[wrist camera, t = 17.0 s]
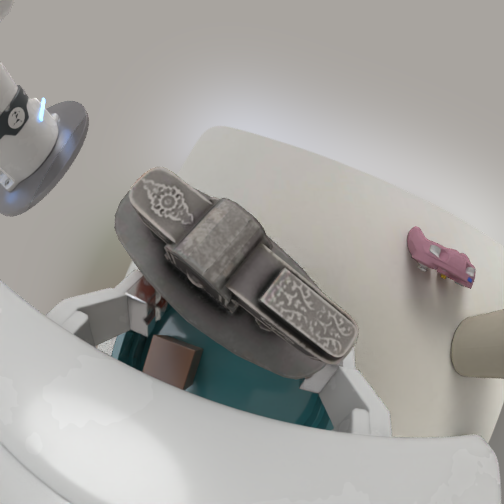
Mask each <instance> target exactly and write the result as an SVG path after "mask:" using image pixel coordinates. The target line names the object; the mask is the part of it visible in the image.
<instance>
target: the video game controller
mask: <svg viewBox="0 0 504 504" xmlns="http://www.w3.org/2000/svg"><path fill="white" fill-rule="evenodd" d="M407 243H408V249H409V251H410V253H411V255H412V258H413V259H415V260H416V261H417V262H418V263H419V265H420V266H421V267H419V266H418V268H419V269H420V270H422V271H427V270H425V268H432V269H436V270H437V272H438V273H440V274H441V277H442V278H444V279H446V277H448V278H450V279H452V280H454V281H455V283H457V284H459V285H461V286H465V287H467V288H470V289H471V287H472V285H473V282H474V279H475V270H476V269H475V267H474V266H473V265H472V264H471V263H470V260H469V258H468V257H467V255H465V254H464V253H461V254H460V253H459V252H458V251H457V250H454V249H450V248H445V247H443V246H442V245H440V244H438V243H435V242H433V241H430V240H428V239H427V238H426V237H425V236H424V235H423V233H422V231H421V229H420V228H419V227H416V226H415V227H413V228H412V229H411V230H410V231H409V233H408V239H407Z"/></svg>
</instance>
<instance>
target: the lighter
mask: <svg viewBox="0 0 504 504" xmlns="http://www.w3.org/2000/svg"><path fill="white" fill-rule="evenodd" d="M115 231H116V234H117V236H118V239H119V241H120V242H121V244H122V245H123V247H124V248H125V250H126V251H127V253H128V254H129V256H130V257H131V258H132V260H133V261H134V263H135V264H136V266H137V267H138V269H139V270H140V271H141V273H142V274H143V276H144V277H145V278H146V280H147V281H148V282H149V283H150V284H151V285H152V286H153V287H154V288H155V289H156V290H157V291H158V293H159V294H160V295H161V296H162V297H163V298H164V299H165V300H166V301H167V302H168V303H169V304H170V305H171V306H172V307H173V308H174V309H175V310H176V311H177V312H178V313H179V314H180V315H181V316H182V317H183V318H184V319H185V320H186V321H187V322H189V323H190V324H192V325H193V326H194V327H196V328H197V329H199V330H200V331H201V332H203V333H204V334H206V335H207V336H208V337H210V338H211V339H213V340H214V341H216V342H217V343H219V344H220V345H222V346H223V347H225V348H226V349H228V350H229V351H231V352H232V353H234V354H235V355H237V356H239V357H241V358H243V359H245V360H247V361H249V362H252V363H254V364H256V365H258V366H260V367H262V368H264V369H267V370H269V371H271V372H273V373H276V374H278V375H280V376H282V377H286V378H291V379H301V378H306V377H310V376H312V375H314V374H315V373H317V372H319V371H320V370H322V369H323V368H324V367H325V366H326V365H327V364H338V363H340V362H342V361H343V360H344V359H345V358H346V357H347V355H348V354H349V353H350V351H351V350H352V348H353V347H354V345H355V343H356V341H357V338H358V332H359V329H358V326H357V323H356V321H355V320H354V319H353V318H352V317H351V316H350V315H349V314H348V313H347V312H345V311H344V310H343V309H342V308H341V307H339V306H338V305H337V304H336V303H335V302H333V301H332V300H331V299H330V298H329V297H327V296H326V295H325V294H324V293H323V292H322V291H321V290H320V289H319V288H318V286H317V285H316V284H315V283H314V282H313V281H312V279H311V278H310V277H309V276H308V275H307V273H306V272H305V271H304V270H303V269H302V268H301V267H300V266H299V265H298V264H297V263H296V262H295V261H294V260H293V259H292V258H291V257H290V256H289V255H287V254H286V253H285V252H284V251H283V250H282V249H281V248H280V247H279V246H278V245H277V244H276V243H275V242H273V241H272V240H271V239H270V238H269V237H268V236H267V235H266V233H265V230H264V229H263V227H262V225H261V224H260V223H259V222H258V221H257V220H256V219H255V217H254V216H252V215H251V214H250V213H249V212H247V211H246V210H245V209H244V208H242V207H241V206H240V205H239V204H237V203H236V202H233V201H231V200H229V199H226V198H222V199H218V198H216V197H210V196H208V195H206V194H204V193H202V192H201V191H199V190H197V189H195V188H193V187H191V186H190V185H189V184H187V183H186V182H185V181H184V180H182V179H181V178H180V177H178V176H177V175H176V174H175V173H173V172H172V171H170V170H168V169H167V168H164V167H155V168H152V169H150V170H149V171H147V172H146V173H144V174H143V175H142V176H141V177H140V178H139V179H138V180H137V181H136V182H135V183H134V185H133V186H132V187H131V190H129V191H128V193H127V194H126V195H125V197H124V198H123V199H122V200H121V202H120V204H119V206H118V209H117V212H116V214H115Z"/></svg>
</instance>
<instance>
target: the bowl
mask: <svg viewBox="0 0 504 504" xmlns="http://www.w3.org/2000/svg"><path fill="white" fill-rule="evenodd" d="M153 335H168V336H170V337H173V338H175V339H178V340H181V341H183V342H186V343H189V344H191V345H194V346H197V347H200V348H203V352H202V355H201V358H200V362H199V365H198V368H197V371H196V374H195V377H194V381H193V384H192V385H191V386H190V387H189V388H187V389H186V390H185V391H187V392H190V393H192V394H195V395H197V396H200V397H203V398H206V399H208V400H211V401H214V402H217V403H220V404H223V405H226V406H229V407H232V408H235V409H239V410H242V411H245V412H249V413H252V414H256V415H260V416H263V417H267V418H271V419H275V420H279V421H284V422H288V423H293V424H298V425H302V426H308V427H313V428H318V429H324V430H333V429H334V426H333V424H332V422H331V420H330V418H329V416H328V413H327V411H326V409H325V407H324V405H323V403H322V401H321V399H320V397H319V394H318V393H314V392H310V391H306V390H302V389H299V385H300V379H291V378H286V377H282V376H280V375H278V374H276V373H273V372H271V371H269V370H267V369H264V368H262V367H260V366H258V365H256V364H254V363H252V362H249V361H247V360H245V359H243V358H241V357H239V356H237V355H235V354H234V353H232V352H231V351H229V350H228V349H226V348H225V347H223V346H222V345H220V344H219V343H217V342H216V341H214V340H213V339H211V338H210V337H208V336H207V335H206V334H204V333H203V332H201V331H200V330H199V329H197V328H196V327H194V326H193V325H192V324H190V323H189V322H187V321H186V320H185V319H184V318H183V317H182V316H181V315H180V314H179V313H178V312H177V311H176V310H175V309H174V308H173V307H172V306H171V305H170V304H169V303H168V304H167V308H166V311H165V313H164V315H163V317H162V318H161V320H158V321H155V328H154V329H153V330H152V332H151V333H150V335H149V336H148V337H147V336H144V335H142V334H140V333H137V332H135V331H133V330H131V329H130V330H129V331H127V332H125V333H123V334H120V335H118V336H117V338H116V341H115V345H114V348H113V351H112V355H111V356H112V357H113V358H115V359H117V360H119V361H121V362H123V363H125V364H127V365H129V366H131V367H133V368H135V369H137V370H139V371H141V372H142V371H143V367H144V364H145V360H146V357H147V354H148V350H149V347H150V344H151V341H152V338H153Z"/></svg>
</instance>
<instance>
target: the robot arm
mask: <svg viewBox="0 0 504 504" xmlns="http://www.w3.org/2000/svg"><path fill="white" fill-rule="evenodd" d="M13 2H14V0H0V22H1V20H2V19H3V18H4V17H5V16H6V15H7V14H8V13H9V12H10V10H11V8H12V6H13ZM44 105H45V99H44V98H43V99H42V104H41V103H40V102H39V101H38V99H36V98H31V99H28V96H27V95H26V93H25V91H24V89H22V88H21V86H20V85H16V83H15V82H14V80H13V79H12V77H11V76H10V74H9V73H8V71H7V70H6V68H5V67H4V65H3V64H2V63H1V62H0V183H1V184H2V185H3V187H4V188H5V189H6V190H7V191H8V192H11V191H12V190H13V189H14V188H15V187H16V186H17V185H18V184H19V183H20V182H21V181H23V180H24V179H26V178H27V177H29V176H30V175H31V174H32V173H34V172H35V171H36V170H37V169H38V168H39V167H40V165H41V164H42V163H43V162H44V161H45V159H46V158H47V157H48V155H49V154H50V152H51V150H52V149H53V147H54V145H55V143H56V140H57V137H58V126H57V122H58V119H59V116H58V115H57V114H56V113H54V114H50V113H49V112H48V111H47V110H46V109H45V108H44ZM167 304H168V302H167V301H166V300H165V299H164V298H163V297H162V296H161V295H160V294H159V293H158V291H157V290H156V289H155V288H154V287H153V286H152V285H151V284H150V283H149V282H148V281H147V280H146V278H145V277H144V276H143V274H142V273H141V271H139V270H134V271H132V272H131V273H130V274H129V275H128V276H127V277H126V278H125V279H124V280H123V281H122V282H120V283H119V284H118V285H117V286H116V287H115V288H114V289H112V288H108V289H103V290H99V291H96V292H92V293H87V294H83V295H79V296H75V297H71V298H67V299H63V300H62V301H60V303H58V304H57V305H56V306H55V307H54V308H53V309H51V310H50V311H49V312H48V313H47V314H46V315H44V314H43V313H41V312H40V311H39V310H37V309H36V308H34V307H33V306H32V305H31V304H29V303H28V302H27V301H25V300H24V299H23V298H22V297H20V296H19V295H18V294H17V293H15V292H14V291H13V290H12V289H11V288H9V287H8V286H7V285H6V284H5V283H4V282H2V281H1V280H0V504H501V482H500V472H499V464H498V460H497V457H496V454H495V453H494V451H493V450H492V448H491V447H490V446H489V445H488V443H487V442H486V441H485V440H484V439H483V438H482V437H481V436H480V435H477V434H474V435H463V436H450V437H392V428H391V417H390V411H389V410H388V409H387V407H386V406H385V405H384V403H383V402H382V401H381V399H380V398H379V397H378V395H377V394H376V393H375V391H374V390H373V389H372V387H371V386H370V385H369V383H368V382H367V381H366V379H365V378H364V377H363V375H362V374H361V373H360V371H358V370H356V365H355V354H354V347H353V348H352V350H351V351H350V353H349V354H348V355H347V357H346V358H345V359H344V360H343V361H342V362H340V363H338V364H327V365H326V366H325V367H324V368H323V369H322V370H320V371H319V372H317V373H315V374H314V375H312V376H310V377H306V378H301V379H300V385H299V389H302V390H306V391H310V392H314V393H318V394H319V397H320V399H321V401H322V403H323V405H324V407H325V409H326V411H327V413H328V416H329V418H330V420H331V422H332V424H333V426H334V429H333V430H324V429H318V428H313V427H308V426H302V425H298V424H293V423H288V422H284V421H279V420H275V419H271V418H267V417H263V416H260V415H256V414H252V413H249V412H245V411H242V410H239V409H235V408H232V407H229V406H226V405H223V404H220V403H217V402H214V401H211V400H208V399H206V398H203V397H200V396H197V395H195V394H192V393H190V392H187V391H184V390H182V389H179V388H177V387H175V386H172V385H170V384H167V383H165V382H163V381H161V380H158V379H156V378H154V377H152V376H150V375H147V374H145V373H143V372H141V371H139V370H137V369H135V368H133V367H131V366H129V365H127V364H125V363H123V362H121V361H119V360H117V359H115V358H113V357H112V356H110V355H108V354H106V353H104V352H102V351H101V350H99V349H97V348H96V347H95V346H96V345H98V344H101V343H103V342H105V341H107V340H109V339H112V338H114V337H116V336H118V335H120V334H123V333H125V332H127V331H129V330H130V329H131V330H133V331H135V332H137V333H140V334H142V335H144V336H147V337H148V336H149V335H150V333H151V332H152V330H153V329H154V328H155V321H158V320H161V318H162V317H163V315H164V313H165V311H166V308H167Z"/></svg>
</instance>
